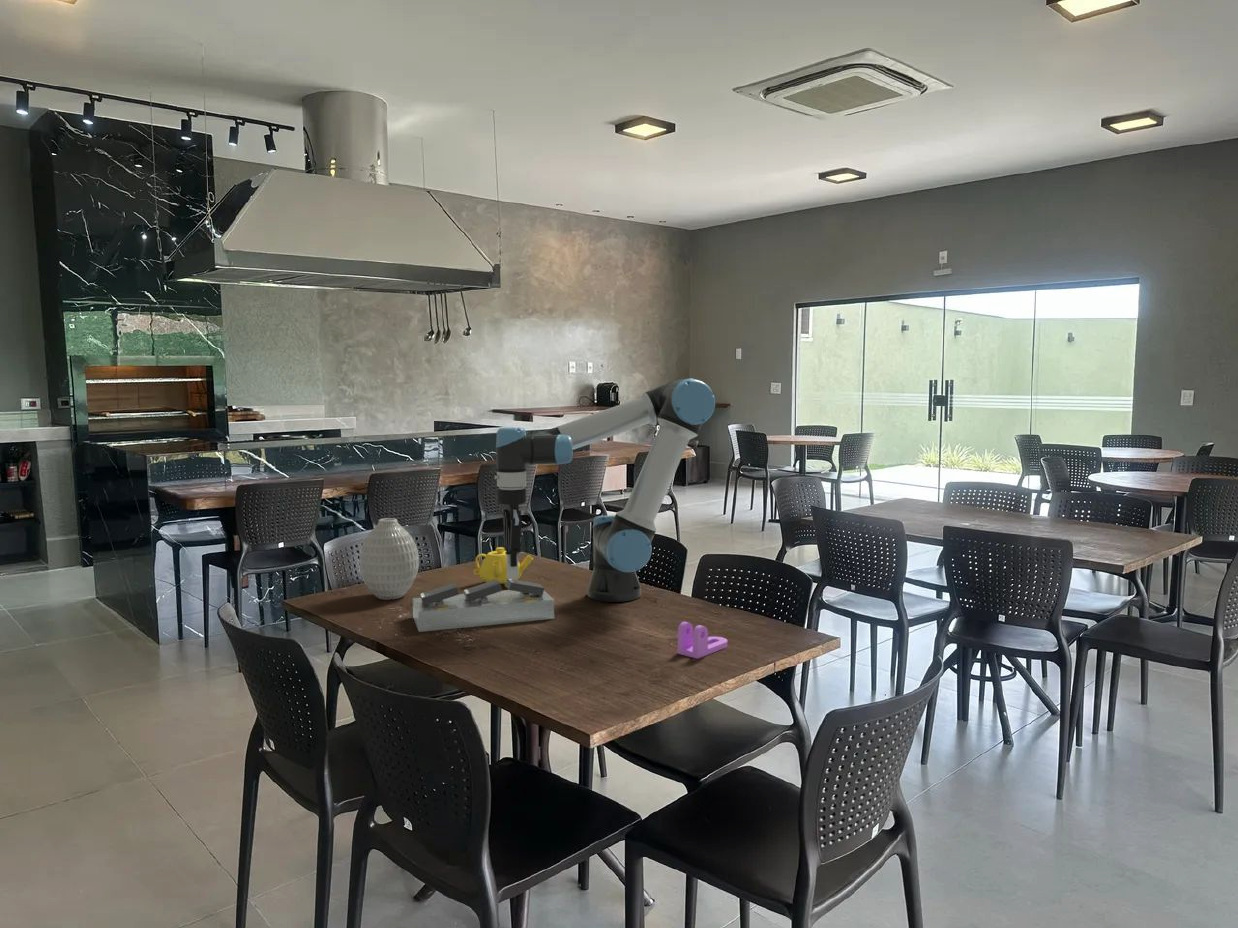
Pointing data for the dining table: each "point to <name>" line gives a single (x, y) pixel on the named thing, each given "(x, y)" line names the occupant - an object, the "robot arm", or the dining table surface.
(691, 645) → the bracket
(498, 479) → the robot arm
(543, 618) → the console
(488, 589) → the switch
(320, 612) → the dining table surface
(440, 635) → the dining table surface
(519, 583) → the switch
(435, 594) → the switch
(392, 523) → the vase
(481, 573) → the teapot
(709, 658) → the dining table surface
